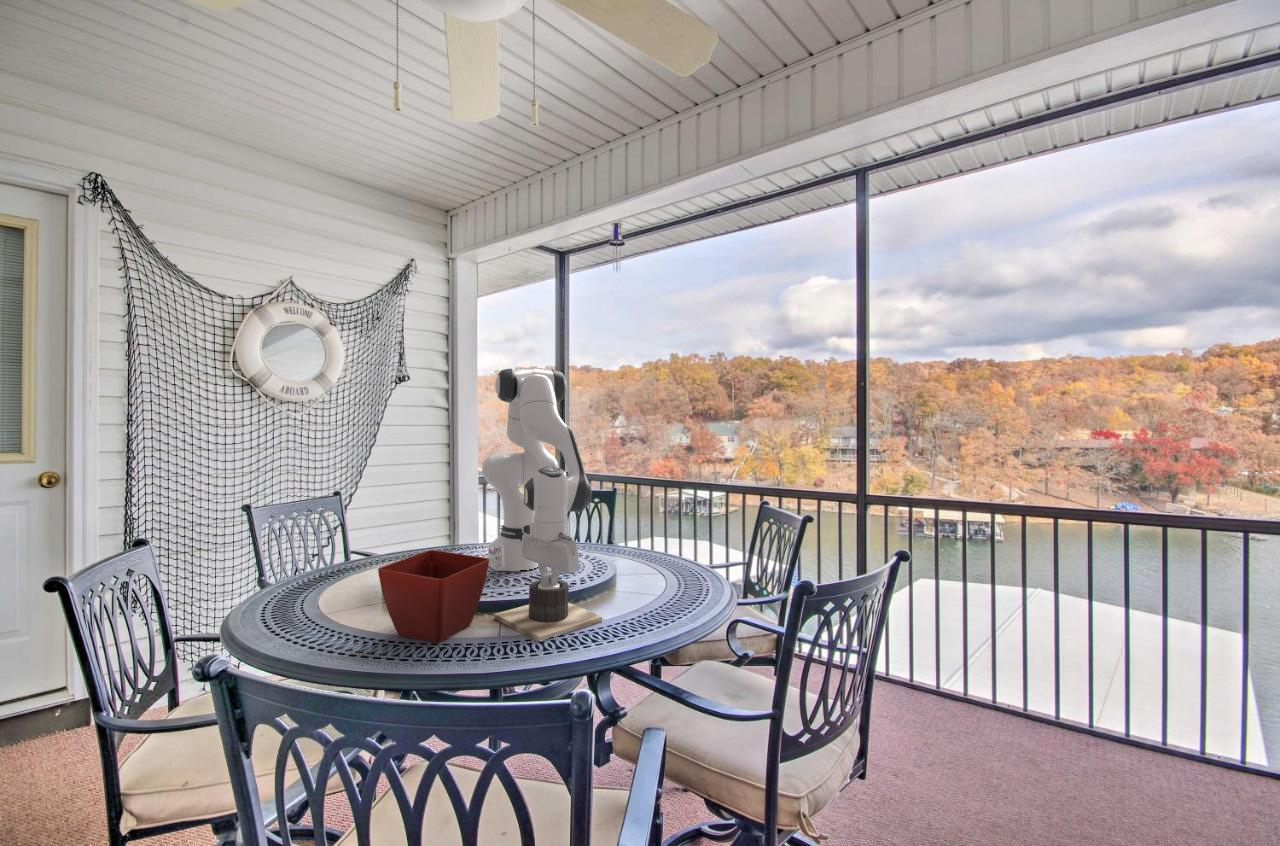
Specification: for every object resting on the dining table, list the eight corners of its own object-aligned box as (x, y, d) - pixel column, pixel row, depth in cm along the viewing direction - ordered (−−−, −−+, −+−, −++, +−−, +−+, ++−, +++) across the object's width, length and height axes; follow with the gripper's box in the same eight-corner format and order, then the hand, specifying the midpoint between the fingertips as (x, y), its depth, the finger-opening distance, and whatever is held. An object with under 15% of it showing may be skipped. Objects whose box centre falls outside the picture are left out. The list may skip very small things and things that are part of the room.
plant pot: (440, 652, 132) (441, 578, 132) (374, 638, 139) (375, 568, 138) (490, 622, 150) (491, 558, 150) (429, 611, 157) (430, 549, 156)
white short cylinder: (546, 597, 149) (546, 578, 149) (533, 592, 153) (533, 573, 153) (563, 593, 153) (564, 574, 153) (550, 587, 157) (551, 569, 157)
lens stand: (494, 618, 153) (495, 583, 153) (555, 601, 168) (556, 569, 167) (539, 642, 139) (540, 604, 139) (602, 621, 154) (603, 586, 153)
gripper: (585, 535, 148) (584, 589, 148) (537, 522, 162) (536, 571, 162) (565, 539, 143) (564, 595, 144) (518, 525, 157) (517, 575, 158)
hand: (549, 582), depth 153 cm, fingers closed on white short cylinder, 2 cm apart
